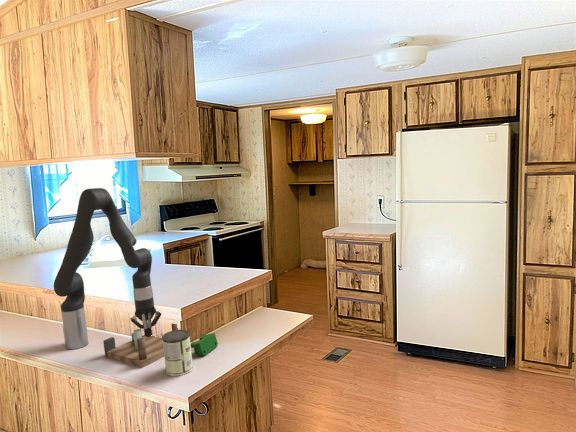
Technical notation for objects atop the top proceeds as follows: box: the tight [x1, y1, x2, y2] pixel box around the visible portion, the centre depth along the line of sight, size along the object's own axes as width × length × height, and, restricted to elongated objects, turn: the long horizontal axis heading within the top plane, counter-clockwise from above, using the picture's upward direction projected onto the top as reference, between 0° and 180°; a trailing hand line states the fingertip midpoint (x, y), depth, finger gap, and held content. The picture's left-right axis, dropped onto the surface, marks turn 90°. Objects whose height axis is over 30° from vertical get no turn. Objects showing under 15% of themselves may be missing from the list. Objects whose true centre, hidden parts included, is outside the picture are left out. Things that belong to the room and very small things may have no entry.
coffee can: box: [161, 329, 194, 377], centre depth 170 cm, size 10×10×14 cm
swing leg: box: [131, 328, 143, 350], centre depth 191 cm, size 14×3×8 cm, turn 26°
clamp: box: [190, 332, 219, 357], centre depth 186 cm, size 12×6×9 cm, turn 150°
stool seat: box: [102, 320, 178, 368], centre depth 190 cm, size 24×22×10 cm
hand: (148, 336), depth 188 cm, fingers closed
